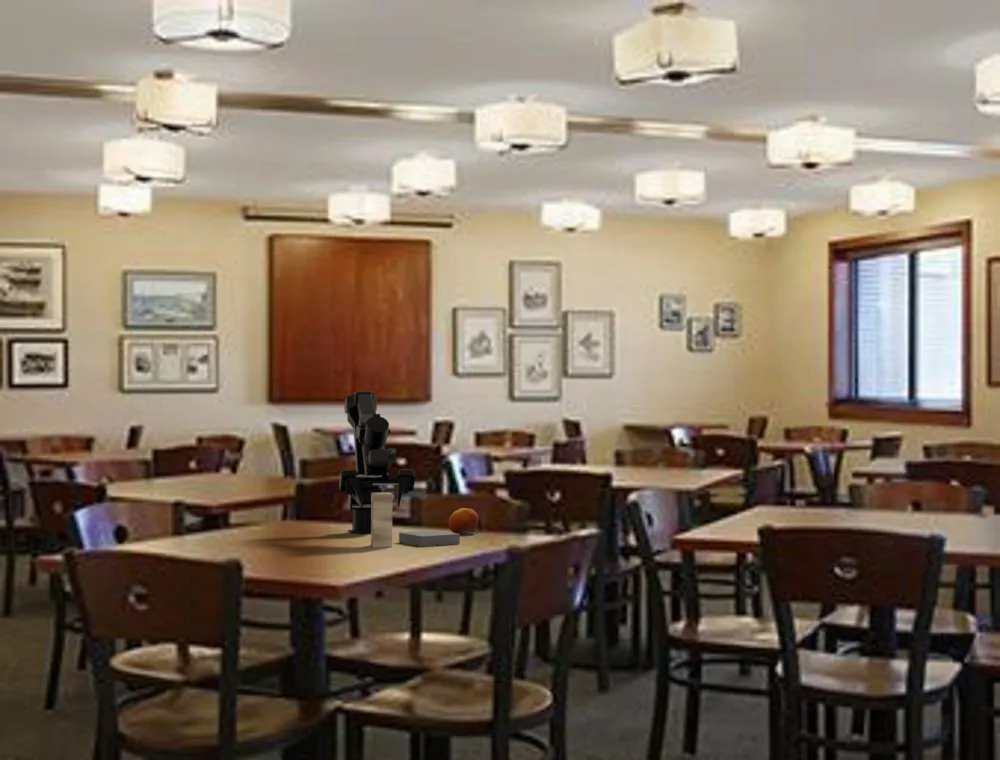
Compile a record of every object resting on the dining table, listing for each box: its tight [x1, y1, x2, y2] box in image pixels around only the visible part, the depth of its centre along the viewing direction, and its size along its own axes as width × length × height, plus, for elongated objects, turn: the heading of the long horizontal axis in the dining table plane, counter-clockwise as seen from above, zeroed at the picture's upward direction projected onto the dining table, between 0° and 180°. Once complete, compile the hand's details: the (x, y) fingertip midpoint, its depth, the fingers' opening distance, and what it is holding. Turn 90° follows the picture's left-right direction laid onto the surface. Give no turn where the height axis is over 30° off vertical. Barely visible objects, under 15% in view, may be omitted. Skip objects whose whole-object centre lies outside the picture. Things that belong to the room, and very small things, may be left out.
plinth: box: [398, 530, 461, 547], centre depth 356 cm, size 11×11×2 cm
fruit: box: [448, 507, 479, 535], centre depth 380 cm, size 8×8×8 cm
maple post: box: [370, 492, 393, 548], centre depth 349 cm, size 5×5×13 cm
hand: (380, 505), depth 351 cm, fingers open, 9 cm apart
